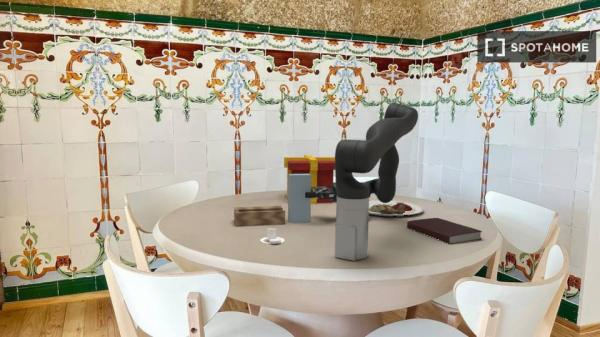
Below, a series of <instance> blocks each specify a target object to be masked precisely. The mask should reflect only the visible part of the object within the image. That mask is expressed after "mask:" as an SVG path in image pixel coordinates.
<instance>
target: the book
mask: <svg viewBox="0 0 600 337" xmlns="http://www.w3.org/2000/svg"><path fill="white" fill-rule="evenodd" d="M406 226H407V227H406V228H407V229H409V230H411V229H412V230H411V231H414V230H415V231H414V232H416V231H417V233H419V232H420V233H419V234H422V235H424V234H425V235H424V236H427V235H428V236H427V237H429V236H431V237H430V238H432V237H434V238H436V239H435V240H437V239H439V240H438V241H440V240H441V241H440V242H442V241H443V242H442V243H445V244H447V243H448V245H451V244H450V243H454V244H460V243H461V242H462V243H469V241H470V242H476V241H481V240H482V239H483V238H482V237H481V236H482V235H481V233H483V231H482V230H480V229H477V228H474V227H471V226H467V225H463V224H460V223H455V222H453V221H450V220H446V219H442V218H439V217H430V218H422V219H412V220H408V221H407V222H406ZM434 238H433V239H434ZM475 240H476V241H475ZM462 243H461V244H462Z"/></svg>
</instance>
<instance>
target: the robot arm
mask: <svg viewBox="0 0 600 337" xmlns="http://www.w3.org/2000/svg"><path fill="white" fill-rule="evenodd" d="M418 113H419V112H418V110H417V109H416V108H415V107H413V106H408V105H404V104H401V103H398V102H391V103H389V104H388V106H387V108H386V110H385V113H384V117H383V118H382V119H379V120H377V121H376V122H374V123H373V124H372V125H371V126H369V127H368V129H367V130H366V132H365V133H366V134H365V139H361V140H360V139H342V140H340V141H338V143H337V144H336V147H335V152H334V157H335V170H334V174H335V175H334V176H335V178H334V179H335V181H333V183H331V184H330V188H326V187H324V186H319V187H312V186H311V192H305V198H315V197H316V199H319V200H321V199H331V201H332V202H333V203H336V205H335V206H336V210H335V211H336V212H335V213H336V215H335V219H336V221H335V222H336V223H335V224H336V225H335V227H334V228H335V231H334V232H335V233H334V234H335V236H334V238H335V240H334V257H335V258H337V259H342V260H348V261H354V262H355V261H357V260H364V259H366V258H367V257H368V251H369V222H370V221H369V220H370V219H369V217H370V214H369V200H370V198H371V195H372V194H374V195H375V197H376V199H377V200H379V201H380V202H382V203H388V202H390V201H391V200H393V199H394V198H395V196H396V192H397V173H398V168H399V166H400V165H399V164H400V154H399V152H398V149H397V146H396V144H397V142H398V141H399V140H401V138H402V137H404V136H406V135H408V134H409V133H410V132H412V131H413V130H414V129H415V127H416V125H417V123H418V120H419V114H418ZM378 163H379V164H378ZM377 165H378V170H377V174H378V178H377V177H376V178H374V179H370V180H367V181H364V182H363V181H362V182H361V181H358V180H357V179H356V178H355V177H354V175H353V174H368V173H370V172H371V171H373V170H374V169H375V167H376V166H377ZM313 189H314V190H315V191H313Z"/></svg>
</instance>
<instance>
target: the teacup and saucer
mask: <svg viewBox="0 0 600 337" xmlns="http://www.w3.org/2000/svg"><path fill="white" fill-rule="evenodd" d="M266 234H267V236H266V237H265V236H264V237H263V238H262V237H261V238H260V240H259V242H261V243H263V244H265V245H266V244H268V245H277V244H282V243H284V242H285V241H286V240H285V239H284V237H281V236H278V229H277V228H276V227H275V228H274V227H272V228H270V227H269V228H267V230H266ZM265 240H268V242H267V241H265Z"/></svg>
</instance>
